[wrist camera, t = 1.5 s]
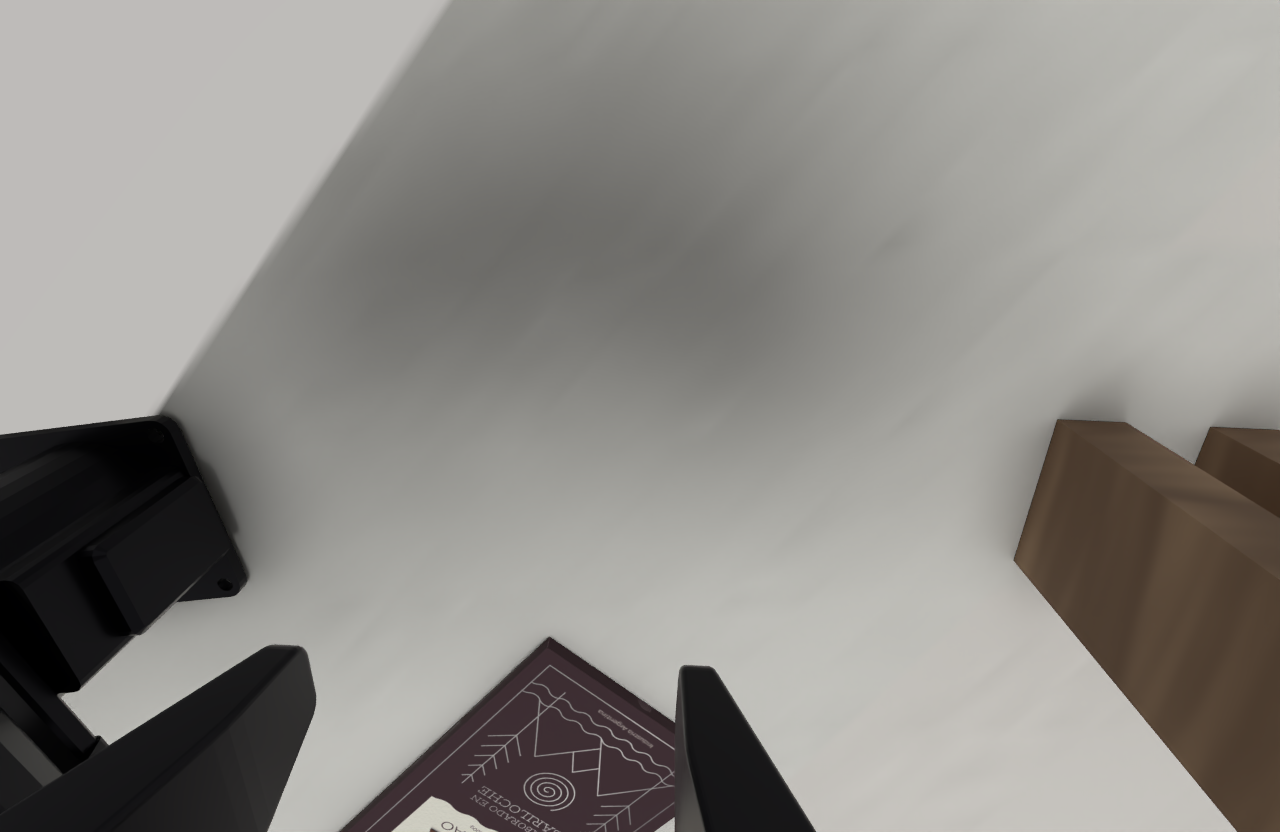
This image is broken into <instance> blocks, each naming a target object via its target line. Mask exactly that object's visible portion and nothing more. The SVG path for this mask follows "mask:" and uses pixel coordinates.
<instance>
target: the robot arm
mask: <svg viewBox="0 0 1280 832" xmlns="http://www.w3.org/2000/svg"><path fill="white" fill-rule="evenodd" d="M156 429H158V430H160V431H161V432H162V433H163V435H164V437H162V436H161V435H159V433H158V432H157V430H156ZM226 579H228V580H230V581H231V583H230V582H229V581H227V580H226ZM246 583H247V577H246V574H245V572H244V570H243V568H242V565H241V563H240V561H239V559H238V556H237V554H236V552H235V550H234V548H233V545H232V543H231V541H230V539H229V536H228V534H227V532H226V530H225V528H224V525H223V523H222V521H221V519H220V516H219V514H218V512H217V510H216V508H215V505H214V503H213V501H212V499H211V496H210V494H209V492H208V490H207V488H206V485H205V483H204V481H203V479H202V476H201V474H200V472H199V470H198V468H197V465H196V463H195V461H194V459H193V456H192V454H191V452H190V450H189V448H188V445H187V443H186V441H185V439H184V436H183V434H182V432H181V430H180V428H179V426H178V425H177V423H176V422H175V421H173V420H172V419H171V418H168V417H166V416H160V415H156V416H148V417H140V418H132V419H124V420H116V421H108V422H100V423H92V424H85V425H76V426H68V427H60V428H52V429H44V430H36V431H28V432H19V433H11V434H4V435H0V832H267V831H268V828H269V826H270V824H271V821H272V819H273V816H274V814H275V811H276V809H277V806H278V804H279V801H280V798H281V796H282V793H283V791H284V788H285V786H286V783H287V781H288V778H289V776H290V773H291V771H292V768H293V766H294V763H295V761H296V758H297V756H298V753H299V750H300V748H301V745H302V743H303V740H304V738H305V735H306V733H307V730H308V728H309V725H310V723H311V720H312V718H313V715H314V711H315V706H316V692H315V687H314V682H313V677H312V673H311V668H310V663H309V658H308V655H307V652H306V650H305V649H304V648H303V647H300V646H294V645H269V646H266V647H265V648H263V649H261V650H259V651H258V652H256V653H255V654H253V655H251V656H250V657H248V658H247V659H245V660H243V661H242V662H240V663H239V664H237V665H236V666H234V667H232V668H231V669H229V670H228V671H226V672H224V673H223V674H221V675H220V676H218V677H217V678H215V679H213V680H212V681H210V682H209V683H207V684H205V685H204V686H202V687H201V688H199V689H198V690H196V691H194V692H193V693H191V694H190V695H188V696H186V697H185V698H183V699H182V700H180V701H178V702H177V703H175V704H174V705H172V706H171V707H169V708H167V709H166V710H164V711H163V712H161V713H159V714H158V715H156V716H155V717H153V718H152V719H150V720H148V721H147V722H145V723H144V724H142V725H140V726H139V727H137V728H136V729H134V730H133V731H131V732H129V733H128V734H126V735H125V736H123V737H121V738H120V739H118V740H117V741H115V742H114V743H112V744H110V745H108V744H107V743H106V742H105V741H104V739H103V738H102V737H101V736H94V735H93V734H92V733H91V731H90V730H89V729H88V728H87V727H86V726H85V725H84V724H83V722H82V721H81V720H80V719H79V718H78V717H77V716H76V715H75V713H74V712H73V711H72V710H71V709H70V708H69V707H68V706H67V704H66V703H65V702H64V701H63V700H62V699H61V697H62V696H63V695H64V694H65V693H70V692H76V691H79V690H80V689H81V688H82V687H83V686H84V685H85V684H86V683H87V682H88V681H89V680H90V679H91V678H93V677H94V676H95V675H96V674H97V673H98V672H99V671H100V670H101V669H102V668H103V667H104V666H105V665H106V664H107V663H108V662H109V661H110V660H111V659H112V658H113V657H114V656H116V655H117V654H118V653H119V652H120V651H121V650H122V649H123V648H124V647H125V646H126V645H127V644H128V643H129V642H130V641H131V640H132V639H133V638H134V637H135V636H136V635H141V634H143V633H144V632H146V631H147V630H148V629H149V628H150V627H151V626H152V625H153V624H154V623H155V622H156V621H157V620H158V619H159V618H160V617H161V616H162V615H163V614H164V613H165V612H166V611H167V610H168V609H169V608H170V607H171V606H172V605H174V604H175V603H176V602H182V601H192V600H202V599H212V598H222V597H231V596H235V595H236V594H238V593H239V592H240V591H241V589H242V588H243V587H244V586H245V585H246ZM675 832H816V831H815V829H814V827H813V826H812V824H811V823H810V821H809V819H808V818H807V816H806V815H805V813H804V811H803V810H802V808H801V807H800V805H799V803H798V802H797V800H796V799H795V797H794V795H793V794H792V792H791V791H790V789H789V787H788V786H787V784H786V783H785V781H784V779H783V778H782V776H781V775H780V773H779V771H778V770H777V768H776V766H775V765H774V763H773V762H772V760H771V758H770V757H769V755H768V754H767V752H766V750H765V749H764V747H763V746H762V744H761V742H760V741H759V739H758V738H757V736H756V734H755V733H754V731H753V730H752V728H751V726H750V725H749V723H748V722H747V720H746V718H745V717H744V715H743V714H742V712H741V710H740V709H739V707H738V706H737V704H736V702H735V701H734V699H733V698H732V696H731V694H730V693H729V691H728V690H727V688H726V686H725V685H724V683H723V682H722V680H721V678H720V677H719V675H718V674H717V672H716V671H715V669H713V668H712V667H710V666H694V665H684V666H682V667H681V668H680V670H679V677H678V690H677V703H676V716H675Z"/></svg>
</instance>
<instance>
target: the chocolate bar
mask: <svg viewBox="0 0 1280 832" xmlns="http://www.w3.org/2000/svg"><path fill="white" fill-rule="evenodd" d="M674 817H675V723H674V722H673V721H671V720H670V719H668V718H667V717H665V716H664V715H662V714H661V713H660V712H658V711H657V710H655V709H654V708H652V707H651V706H649V705H648V704H646V703H645V702H644V701H642V700H641V699H639V698H638V697H636V696H635V695H633V694H632V693H630V692H629V691H628V690H626V689H625V688H623V687H622V686H620V685H619V684H617V683H616V682H615V681H613V680H612V679H610V678H609V677H607V676H606V675H604V674H603V673H601V672H600V671H599V670H597V669H596V668H594V667H593V666H591V665H590V664H588V663H587V662H585V661H584V660H583V659H581V658H580V657H578V656H577V655H575V654H574V653H572V652H571V651H570V650H568V649H567V648H565V647H564V646H562V645H561V644H559V643H558V642H556V641H555V640H554V639H552V638H551V637H549V638H548V639H547V640H546V641H545V642H543V643H542V644H541V645H540V646H539V647H538V648H537V649H536V650H535V651H534V652H533V653H532V654H531V655H529V656H528V657H527V658H526V659H525V660H524V661H523V662H522V663H521V664H520V665H519V666H518V667H517V668H515V669H514V670H513V671H512V672H511V673H510V674H509V675H508V676H507V677H506V678H505V679H504V680H503V681H501V682H500V683H499V684H498V685H497V686H496V687H495V688H494V689H493V690H492V691H491V692H490V693H489V694H487V695H486V696H485V697H484V698H483V699H482V700H481V701H480V702H479V703H478V704H477V705H476V706H475V707H473V708H472V709H471V710H470V711H469V712H468V713H467V714H466V715H465V716H464V717H463V718H462V719H461V720H459V721H458V722H457V723H456V724H455V725H454V726H453V727H452V728H451V729H450V730H449V731H448V732H446V733H445V734H444V735H443V736H442V737H441V738H440V739H439V740H438V741H437V742H436V743H435V744H434V745H432V746H431V747H430V748H429V749H428V750H427V751H426V752H425V753H424V754H423V755H422V756H421V757H420V758H418V759H417V760H416V761H415V762H414V763H413V764H412V765H411V766H410V767H409V768H408V769H407V770H406V771H404V772H403V773H402V774H401V775H400V776H399V777H398V778H397V779H396V780H395V781H394V782H393V783H392V784H390V785H389V786H388V787H387V788H386V789H385V790H384V791H383V792H382V793H381V794H380V795H379V796H378V797H376V798H375V799H374V800H373V801H372V802H371V803H370V804H369V805H368V806H367V807H366V808H365V809H364V810H362V811H361V812H360V813H359V814H358V815H357V816H356V817H355V818H354V819H353V820H352V821H351V822H350V823H348V824H347V825H346V826H345V827H344V828H343V829H342V830H341V831H340V832H654V831H656V830H657V829H658V828H660V827H661V826H663V825H664V824H665V823H667V822H668V821H670V820H671V819H672V818H674Z"/></svg>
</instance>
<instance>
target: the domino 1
mask: <svg viewBox="0 0 1280 832" xmlns="http://www.w3.org/2000/svg"><path fill="white" fill-rule="evenodd" d="M1014 562H1015V563H1016V564H1017V565H1018V566H1019V568H1020V569H1021V570H1022V571H1023V573H1024V574H1025V575H1026V576H1027V577H1028V579H1029V580H1030V581H1031V582H1032V583H1033V585H1034V586H1035V587H1036V588H1037V589H1038V591H1039V592H1040V593H1041V594H1042V596H1043V597H1044V598H1045V599H1046V600H1047V602H1048V603H1049V604H1050V605H1051V606H1052V608H1053V609H1054V610H1055V611H1056V613H1057V614H1058V615H1059V616H1060V617H1061V619H1062V620H1063V621H1064V622H1065V623H1066V625H1067V626H1068V627H1069V628H1070V629H1071V631H1072V632H1073V633H1074V634H1075V636H1076V637H1077V638H1078V639H1079V640H1080V642H1081V643H1082V644H1083V645H1084V646H1085V648H1086V649H1087V650H1088V651H1089V653H1090V654H1091V655H1092V656H1093V657H1094V659H1095V660H1096V661H1097V662H1098V663H1099V665H1100V666H1101V667H1102V668H1103V669H1104V671H1105V672H1106V673H1107V674H1108V676H1109V677H1110V678H1111V679H1112V680H1113V682H1114V683H1115V684H1116V685H1117V686H1118V688H1119V689H1120V690H1121V691H1122V693H1123V694H1124V695H1125V696H1126V697H1127V699H1128V700H1129V701H1130V702H1131V703H1132V705H1133V706H1134V707H1135V708H1136V710H1137V711H1138V712H1139V713H1140V714H1141V716H1142V717H1143V718H1144V719H1145V720H1146V722H1147V723H1148V724H1149V725H1150V726H1151V728H1152V729H1153V730H1154V731H1155V733H1156V734H1157V735H1158V736H1159V737H1160V739H1161V740H1162V741H1163V742H1164V743H1165V745H1166V746H1167V747H1168V748H1169V750H1170V751H1171V752H1172V753H1173V754H1174V756H1175V757H1176V758H1177V759H1178V760H1179V762H1180V763H1181V764H1182V765H1183V766H1184V768H1185V769H1186V770H1187V771H1188V773H1189V774H1190V775H1191V776H1192V777H1193V779H1194V780H1195V781H1196V782H1197V783H1198V785H1199V786H1200V787H1201V788H1202V790H1203V791H1204V792H1205V793H1206V794H1207V796H1208V797H1209V798H1210V799H1211V800H1212V802H1213V803H1214V804H1215V805H1216V807H1217V808H1218V809H1219V810H1220V811H1221V813H1222V814H1223V815H1224V816H1225V817H1226V819H1227V820H1228V821H1229V822H1230V823H1231V825H1232V826H1233V827H1234V828H1235V830H1236V831H1237V832H1280V518H1279V517H1277V516H1275V515H1274V514H1272V513H1271V512H1269V511H1267V510H1266V509H1264V508H1262V507H1261V506H1259V505H1258V504H1256V503H1254V502H1253V501H1251V500H1250V499H1248V498H1246V497H1245V496H1243V495H1242V494H1240V493H1238V492H1237V491H1235V490H1234V489H1232V488H1230V487H1229V486H1227V485H1226V484H1224V483H1222V482H1221V481H1219V480H1218V479H1216V478H1214V477H1213V476H1211V475H1209V474H1208V473H1206V472H1205V471H1203V470H1201V469H1200V468H1198V467H1197V466H1195V465H1193V464H1192V463H1190V462H1189V461H1187V460H1185V459H1184V458H1182V457H1181V456H1179V455H1177V454H1176V453H1174V452H1173V451H1171V450H1169V449H1168V448H1166V447H1165V446H1163V445H1161V444H1160V443H1158V442H1156V441H1155V440H1153V439H1152V438H1150V437H1148V436H1147V435H1145V434H1144V433H1142V432H1140V431H1139V430H1137V429H1136V428H1134V427H1132V426H1131V425H1129V424H1128V423H1125V422H1102V421H1080V420H1057V423H1056V426H1055V430H1054V433H1053V436H1052V439H1051V442H1050V446H1049V449H1048V452H1047V455H1046V458H1045V462H1044V465H1043V468H1042V471H1041V475H1040V478H1039V481H1038V484H1037V487H1036V491H1035V494H1034V497H1033V500H1032V503H1031V507H1030V510H1029V513H1028V516H1027V519H1026V523H1025V526H1024V529H1023V532H1022V535H1021V539H1020V542H1019V545H1018V548H1017V551H1016V555H1015V558H1014Z"/></svg>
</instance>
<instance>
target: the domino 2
mask: <svg viewBox="0 0 1280 832" xmlns="http://www.w3.org/2000/svg"><path fill="white" fill-rule="evenodd" d="M1195 466H1197V467H1198V468H1200V469H1201V470H1203V471H1205V472H1206V473H1208V474H1209V475H1211V476H1213V477H1214V478H1216V479H1218V480H1219V481H1221V482H1222V483H1224V484H1226V485H1227V486H1229V487H1230V488H1232V489H1234V490H1235V491H1237V492H1238V493H1240V494H1242V495H1243V496H1245V497H1246V498H1248V499H1250V500H1251V501H1253V502H1254V503H1256V504H1258V505H1259V506H1261V507H1262V508H1264V509H1266V510H1267V511H1269V512H1271V513H1272V514H1274V515H1275V516H1277V517H1279V518H1280V430H1265V429H1243V428H1221V427H1210V430H1209V432H1208V434H1207V437H1206V439H1205V442H1204V444H1203V447H1202V449H1201V451H1200V454H1199V456H1198V459H1197V461H1196V463H1195Z"/></svg>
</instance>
